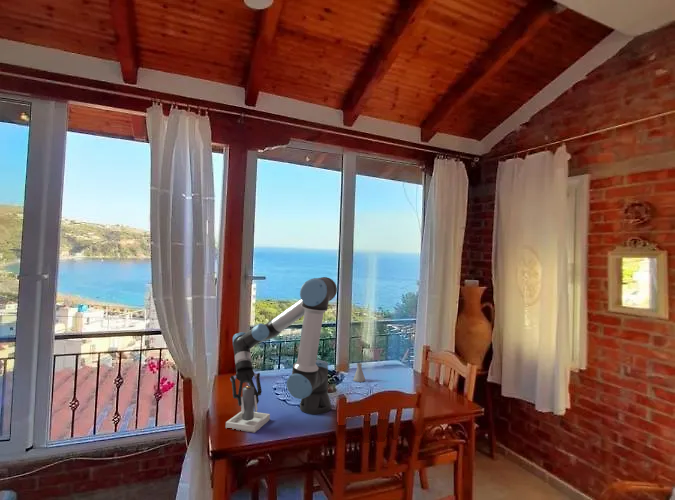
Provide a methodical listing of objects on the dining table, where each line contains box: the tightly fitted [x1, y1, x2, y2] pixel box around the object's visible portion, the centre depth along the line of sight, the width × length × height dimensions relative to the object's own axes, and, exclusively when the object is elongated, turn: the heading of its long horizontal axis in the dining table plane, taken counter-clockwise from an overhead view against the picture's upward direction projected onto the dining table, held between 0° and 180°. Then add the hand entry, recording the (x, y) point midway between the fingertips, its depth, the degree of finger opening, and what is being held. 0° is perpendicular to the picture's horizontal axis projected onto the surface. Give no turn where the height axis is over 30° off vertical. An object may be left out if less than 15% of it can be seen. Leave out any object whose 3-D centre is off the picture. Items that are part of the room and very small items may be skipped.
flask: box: [352, 362, 366, 383], centre depth 239 cm, size 7×7×10 cm
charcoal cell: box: [241, 385, 255, 420], centre depth 178 cm, size 5×5×14 cm
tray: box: [225, 410, 271, 434], centre depth 178 cm, size 14×14×2 cm
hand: (249, 411), depth 175 cm, fingers closed on charcoal cell, 5 cm apart
